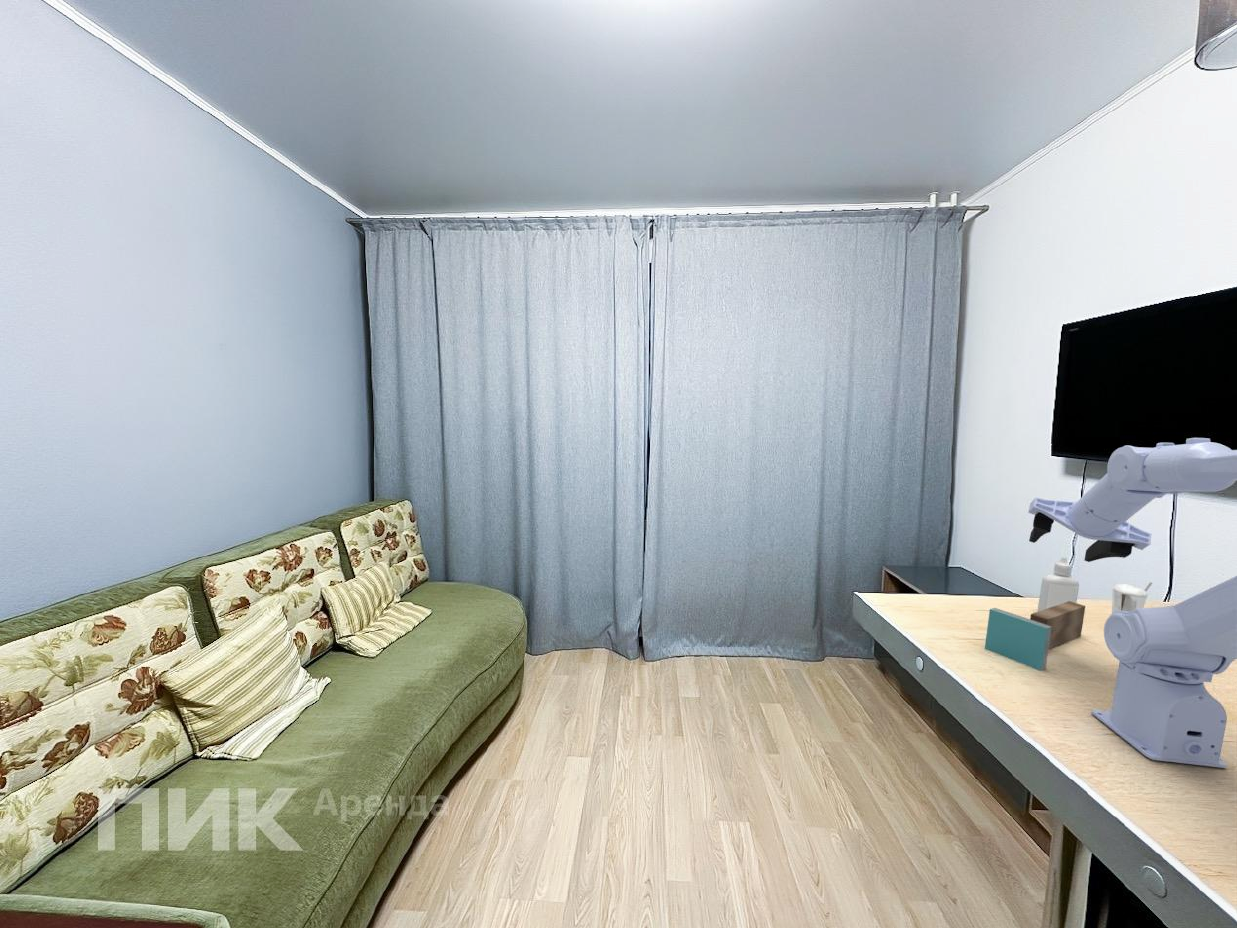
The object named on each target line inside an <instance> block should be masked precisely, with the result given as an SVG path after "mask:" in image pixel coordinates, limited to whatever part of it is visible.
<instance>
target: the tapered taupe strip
mask: <svg viewBox="0 0 1237 928" xmlns="http://www.w3.org/2000/svg"><path fill="white" fill-rule="evenodd" d="M1085 610H1086V605H1083V604H1081V603H1078V602H1077V603H1074V602H1070V601H1068V602H1065V603H1062V604H1059V605H1056V606H1053V607H1050V608H1047V609H1044V610H1042V611H1039V612H1038V611H1036V612H1033V613H1031V614H1030V618H1029V619H1031V620H1034V621H1037V622H1040V623H1043V624H1046V625H1049V626H1052V629H1051V635H1050V642H1049V649H1048V652H1049V651H1051V650H1053V649H1056V648H1058V647H1060V646H1062V645H1065V644H1067V643H1070V642H1072V641H1074V640H1077V639H1080V638H1081V637H1082V631H1083V626H1084V625H1083V624H1084V618H1085V613H1086V611H1085Z"/></svg>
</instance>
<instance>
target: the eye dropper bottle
mask: <svg viewBox="0 0 1237 928" xmlns="http://www.w3.org/2000/svg"><path fill="white" fill-rule="evenodd" d="M1071 569H1072V565H1071V564H1069V563H1068V560H1067V557H1065V556H1061V558H1060V560H1059V561H1057V562H1055V563H1054V568H1053V573H1051V574H1047V575H1045V576H1043V577H1042V580H1041V585H1040V593H1039V599H1038V604H1037V605H1038V606H1037V612H1039V611H1042V610H1044V609H1047V608H1050V607H1053V606H1056V605H1059V604H1062V603H1065V602H1068V601H1070V602H1074V603H1077V604H1078V597H1079V596H1078V595H1079V590H1080V589H1079V588H1080V583H1079V581H1078V580H1077V579H1076V578H1074V577H1071V571H1072V570H1071Z"/></svg>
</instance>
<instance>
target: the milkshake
mask: <svg viewBox="0 0 1237 928" xmlns="http://www.w3.org/2000/svg"><path fill="white" fill-rule="evenodd" d="M1152 584H1153V582H1150V581H1149V583H1148V584H1147V586H1146V588H1145V589H1143V588H1140V587H1137V586H1135V585H1131V584H1128V583H1116V584H1114V585H1113V587H1112V603H1111V604H1112V605H1111V614H1112V613H1113V612H1115V611H1127V612H1132V611H1134V610H1136V609H1140V608H1145V604H1146V600H1147V598H1148V596H1149V595H1148V592H1147V591H1148V590H1149V589H1150V588H1151V586H1152Z"/></svg>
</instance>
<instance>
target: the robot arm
mask: <svg viewBox="0 0 1237 928" xmlns="http://www.w3.org/2000/svg"><path fill="white" fill-rule="evenodd" d="M1106 468H1107V469H1106V472H1107V473H1105V475H1103V476H1102V478H1101V479H1099V480H1098V481H1097V482H1096V483H1095V484H1094V485H1092V487H1090V489H1089V490H1088V491H1087V492H1085V494H1083V495H1082V496H1081V498H1079V499H1078V501H1068V500H1067V501H1065V500H1055V499H1054V500H1052V499H1045V498H1040V497H1034V498H1033V500H1032V501H1031V502H1030V503H1029V506H1028V507H1029V508H1028V512H1027V513H1029V514H1031V515H1033V516H1034V518H1033V521H1032V523H1033V524H1032V526H1033V528H1032V530H1031V531H1030V535H1029V539H1028V540H1029V541H1028V542H1030V543H1037V542H1038V540H1039V539H1040V538H1041V537H1042V536H1044V535H1047V534H1049V533H1051V531H1052V527H1053V524H1054V522H1057V523H1058V524H1060V525H1061V526H1063V527H1065V528H1066V529H1068V530H1069V531H1072V532H1073V533H1075V534H1076V535H1077V536H1080V537H1082V538H1085V539H1088V540H1093V541H1095V540H1096V541H1095V542H1093V543H1092V544H1091V545H1090V546H1088V547H1087V549H1086V550H1085V553H1084V555H1085V556H1084V561H1085V562H1088V563H1091V562H1094V561H1097V560H1102V559H1107V558H1123V559H1126V558H1127V557H1129V556H1130V555H1131V554H1132V551H1133V548H1135V549H1139V550H1140V551H1142V550H1144V549H1145V548H1147V547H1148V546H1150V545H1151V543H1152V542H1151V541H1152V533H1151V532H1147V531H1144V530H1143V529H1140V528H1138V527H1136V526H1134V525H1133V524H1131V523H1129V522H1127V521H1128V520H1130V518H1131V517H1133V516H1134V515H1136V514H1137V513H1138V512H1139V511H1141V510H1142V509H1143V508H1144V507H1146V506H1147V505H1148V504H1150V503H1151V502H1152V501H1153V500H1154V499H1156V498H1157V499H1162V498H1163V497H1164V496H1166V495H1167V494H1168V495H1169V494H1170V495H1178V494H1182V493H1183V492H1186V493H1187V492H1188V493H1189V492H1190V493H1191V492H1196V493H1199V492H1200V493H1215V492H1220V491H1224V490H1226V489H1228V488H1229V487H1231V486H1232V485H1234V484H1235V483H1236V481H1237V449H1231V448H1230V447H1228V446H1226V445H1223V444H1221V443H1218V442H1212V441H1211V438H1206V437H1191V438H1186V440H1185V443H1183V444H1175V443H1174V442H1158V443H1156V446H1155V447H1142V446H1141V447H1138V446H1133V445H1130V444H1129V445H1124V446H1121V447H1118V448H1117V449H1115V450H1114V451H1113V452H1112V453H1111V455H1110V457H1109V459H1108V462H1107V467H1106ZM1103 637H1104V642H1105V645H1106V647H1107V648H1108V650H1109V652H1110V653H1111V655H1112V656H1113V657H1114V658H1116V660H1117V661H1119V662H1118V667H1117V674H1116V679H1115V686H1114V690H1113V691H1114V692H1113V697H1112V703H1111V704H1112V705H1111V709H1110V710H1099V709H1091V714H1092V715H1093V716H1094V717H1096V718H1097V719H1098V720H1099V721H1101V722H1102V723H1104V725H1105V726H1107V727H1109V729H1111V730H1112V731H1113V732H1114V733H1116V734H1117V735H1119V736H1120V737H1121V738H1122V739H1124V741H1126V742H1127V743H1129V744H1130V745H1131V746H1132V747H1134V749H1136V750H1137V751H1139V752H1140V753H1141V754H1143V756H1145V757H1146V758H1148V759H1150V760H1152V761H1160V762H1168V763H1170V762H1171V763H1178V764H1187V765H1196V766H1202V767H1203V766H1205V767H1212V768H1222V769H1226V768H1227V766H1228V765H1227V763H1226V762H1225V761H1223V760H1221V759H1220V757H1221V754H1222V753H1221V752H1222V748H1223V743H1224V737H1225V732H1226V726H1227V721H1228V720H1227V719H1228V717H1227V716H1228V714H1227V711H1226V709H1225V707H1224V706H1223V705H1222V703H1221V702H1220V701H1218V699H1216V698H1215V697H1214V696H1212V694H1211V693H1209V691H1208V690H1207V688H1206V685H1205V684H1204V683H1212V680H1213V676H1214V675H1220V674H1222V673H1225V671H1226V670H1228V668H1229V666H1230V665H1231V664H1232V663H1233V662H1234V661H1235V660H1237V575H1235V576H1234V577H1231V578H1229V579H1227V580H1225V581H1223V582H1221V583H1219V584H1217V585H1215V586H1213V587H1210V588H1208V589H1206V590H1204V591H1202V592H1200V593H1198V594H1195V595H1194V596H1191V597H1189V598H1187V599H1185V600H1183V601H1181V602H1179V603H1177V604H1175V605H1169V606H1168V605H1167V606H1155V607H1154V606H1153V607H1144V608H1140V609H1136V610H1134V611H1132V612H1127V611H1115V612H1113V613H1112V612H1111V614H1110V615H1109V616H1108V618H1106V621H1105V623H1104V627H1103Z"/></svg>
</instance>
